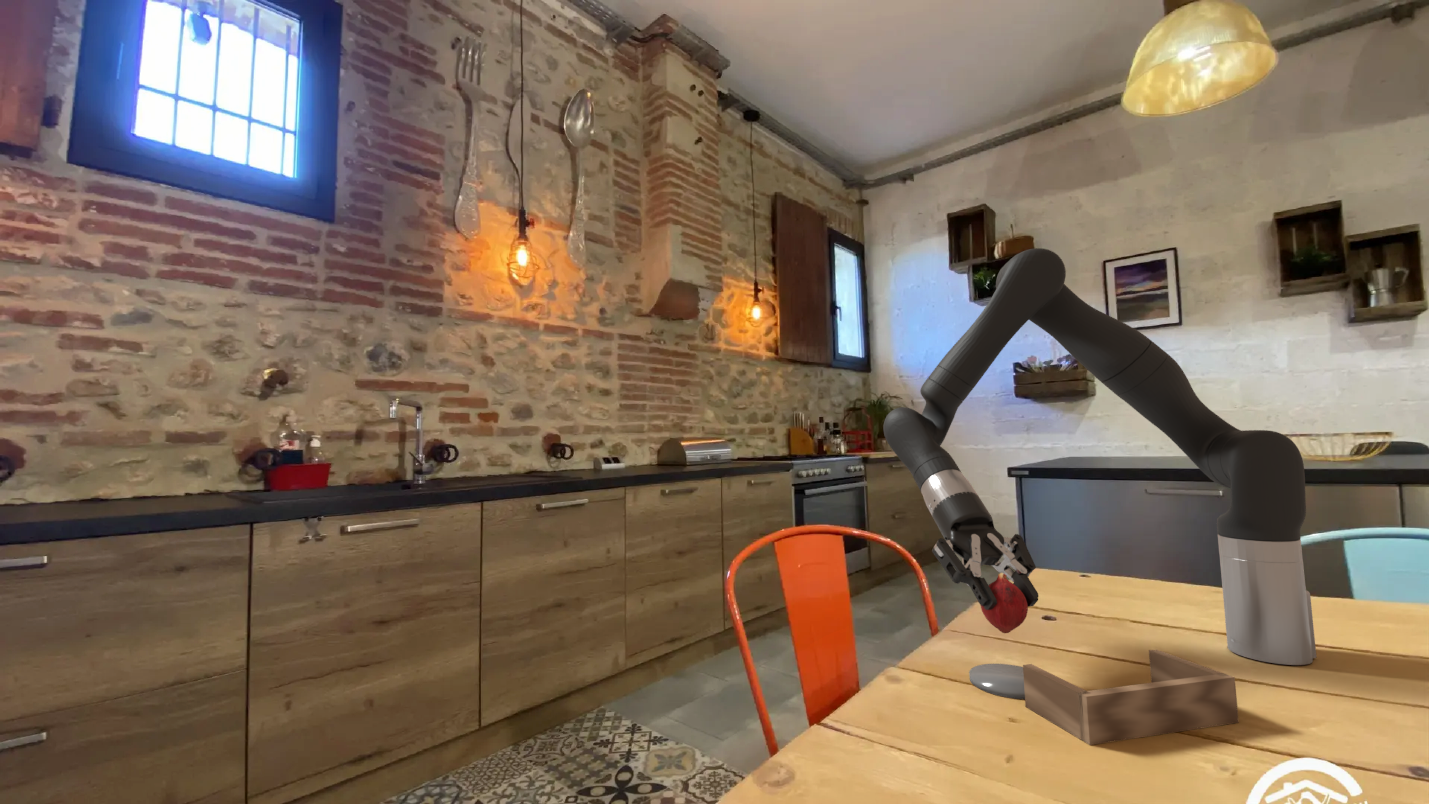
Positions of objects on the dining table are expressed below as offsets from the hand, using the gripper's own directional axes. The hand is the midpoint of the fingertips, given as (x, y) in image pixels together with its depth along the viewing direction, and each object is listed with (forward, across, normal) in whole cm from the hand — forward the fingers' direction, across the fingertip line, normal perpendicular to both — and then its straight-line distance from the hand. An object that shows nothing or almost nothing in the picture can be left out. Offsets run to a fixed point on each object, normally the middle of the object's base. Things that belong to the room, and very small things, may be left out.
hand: (1012, 604), depth 79 cm
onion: (+2, 0, +4) cm, 5 cm away
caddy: (+14, +7, +1) cm, 16 cm away
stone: (+7, 0, +9) cm, 11 cm away
